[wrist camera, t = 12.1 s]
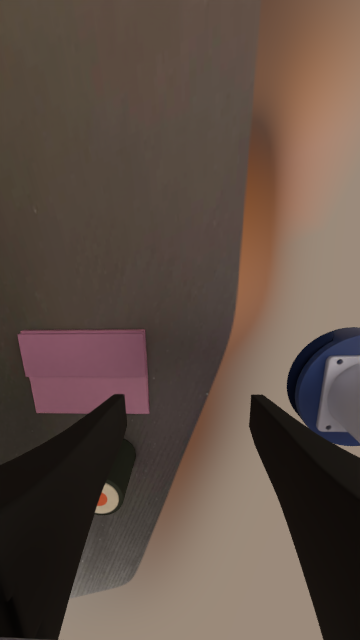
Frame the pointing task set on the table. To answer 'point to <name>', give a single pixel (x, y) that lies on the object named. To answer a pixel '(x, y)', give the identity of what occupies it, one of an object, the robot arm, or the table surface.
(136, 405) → the napkin
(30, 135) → the table surface
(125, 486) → the sushi roll
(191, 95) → the table surface
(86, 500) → the robot arm
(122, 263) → the table surface
